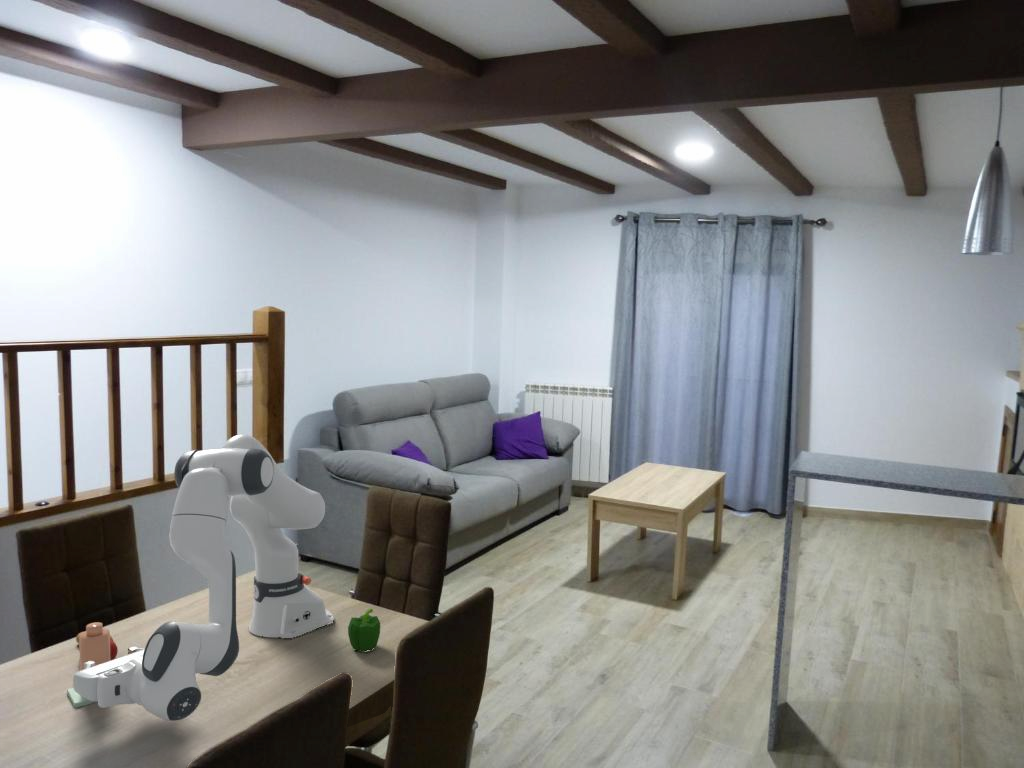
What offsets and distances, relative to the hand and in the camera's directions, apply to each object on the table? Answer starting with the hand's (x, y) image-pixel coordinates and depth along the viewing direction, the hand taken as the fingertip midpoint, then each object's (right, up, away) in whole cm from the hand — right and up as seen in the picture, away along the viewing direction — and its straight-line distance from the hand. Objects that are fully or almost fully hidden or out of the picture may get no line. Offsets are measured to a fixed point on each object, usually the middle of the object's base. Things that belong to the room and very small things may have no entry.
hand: (109, 657), depth 173 cm
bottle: (-6, -9, +5) cm, 12 cm away
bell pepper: (+49, -9, +33) cm, 60 cm away
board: (-2, -10, +9) cm, 13 cm away
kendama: (-16, -8, +24) cm, 29 cm away
